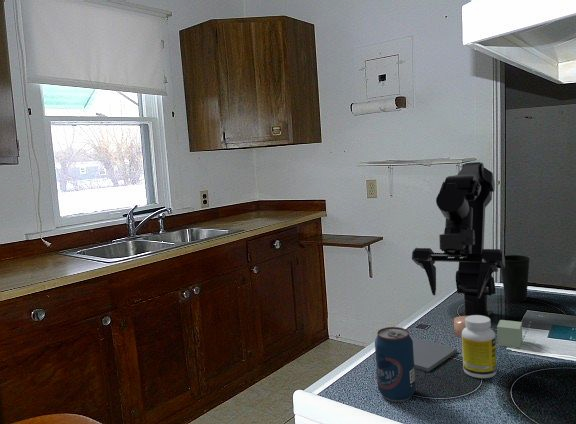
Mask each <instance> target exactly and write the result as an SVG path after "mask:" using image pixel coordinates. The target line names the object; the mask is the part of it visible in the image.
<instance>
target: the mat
mask: <svg viewBox="0 0 576 424" xmlns="http://www.w3.org/2000/svg"><path fill="white" fill-rule="evenodd" d="M410 337H411V339H412V341H413V353H414V369H417V370H420V371H423V372H427V373H429V372H430V371H432V370H433V369H435V368H436V367H437V366H439V365H441V364H442V363H443V362H445V361H446V360H448V359H449V358H451V357H452V356H453V355H455V354H456V353H458V349H457V348H456V347H452V346H449V345H444V344H442V343H441V344H440V343H436V342H434V341H433V342H432V341H428V340H425V339H421V338H417V337H412V336H410Z"/></svg>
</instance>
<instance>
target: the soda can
mask: <svg viewBox="0 0 576 424" xmlns="http://www.w3.org/2000/svg"><path fill="white" fill-rule="evenodd" d="M376 334H377V336H376V338H375V340H374V351H375V353H374V354H375V364H376V378H377V379H376V381H377V389H378V391H379V392H380V394H381V396H382V397H383V398H384V399H386V400H388V401H391V402H405V401H408V400H409V399H411V398H412V397H413V395H414V393H415V392H416V386H417V385H416V372H415V369H416V368H414V353H413V341H412V339H411V337H412V336H411V335H410V332H409V330H407V329H405V328H403V327H398V326H389V327H382V328H380V329H378V331H377V333H376Z"/></svg>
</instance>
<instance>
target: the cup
mask: <svg viewBox="0 0 576 424" xmlns="http://www.w3.org/2000/svg"><path fill="white" fill-rule="evenodd" d="M504 257H505V268H500V271H501V278H502V279H501V280H502V285H503V286H502V287H503V292H504V300H506V301H507V302H513V303H521V302H526V301H527V300H528V299H527V297H528V287H529V286H528V281H529V271H530V257H528V256H525V255H521V254H509V255H507V254H506V255H504Z"/></svg>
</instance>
